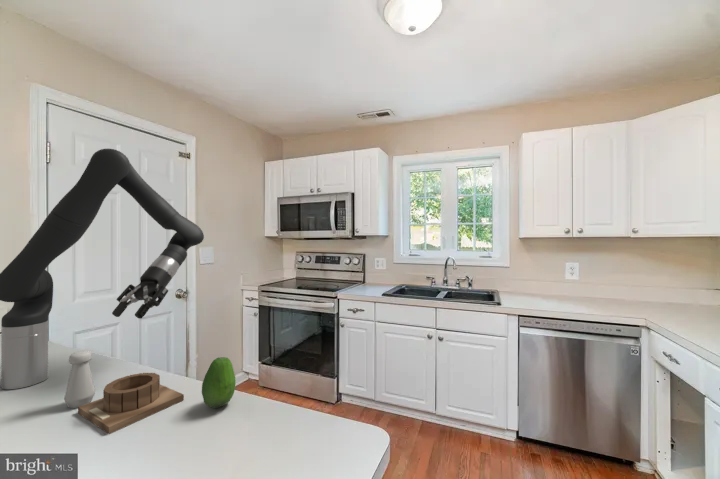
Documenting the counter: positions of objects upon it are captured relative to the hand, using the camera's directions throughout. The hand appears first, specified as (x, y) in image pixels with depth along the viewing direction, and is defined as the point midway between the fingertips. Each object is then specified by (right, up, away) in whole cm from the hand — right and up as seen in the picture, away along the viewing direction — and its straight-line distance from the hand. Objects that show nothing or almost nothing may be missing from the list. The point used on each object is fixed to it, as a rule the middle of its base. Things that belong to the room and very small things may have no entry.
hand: (126, 316), depth 89 cm
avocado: (+32, -19, -12) cm, 40 cm away
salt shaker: (-3, -20, -11) cm, 23 cm away
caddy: (+11, -19, -12) cm, 26 cm away
